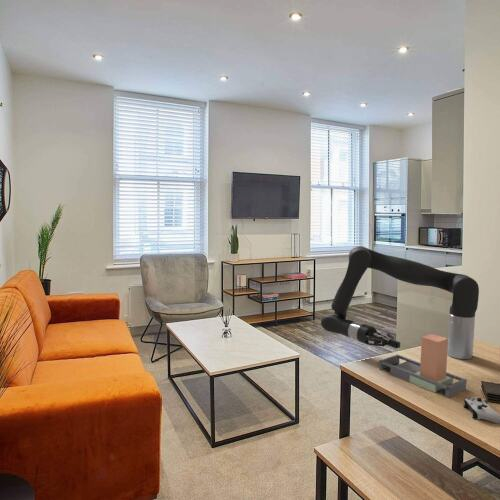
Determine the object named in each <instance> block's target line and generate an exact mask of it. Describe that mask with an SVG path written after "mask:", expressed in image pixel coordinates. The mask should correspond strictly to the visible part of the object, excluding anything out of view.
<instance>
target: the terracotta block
mask: <svg viewBox="0 0 500 500" xmlns="http://www.w3.org/2000/svg"><path fill="white" fill-rule="evenodd" d="M447 350H448V337H444V336H440V335H437V334H434V333H430V334H426V335H424V336H421V345H420V362H419V363H420V376H423V377H425V378H428V379H430V380H433V381H435V382H437V381H440V380H442V379H444V378H446V372H447V363H448V354H447Z"/></svg>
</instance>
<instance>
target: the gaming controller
mask: <svg viewBox="0 0 500 500" xmlns="http://www.w3.org/2000/svg"><path fill="white" fill-rule="evenodd" d="M463 403H464V405H463V408H464V409H467V410H468V409H469V410H470V411H471V412H472V417H471V419H474V420H485V421H489V422H492V423H495V424H500V413H499V412H498V411H496V410H495V409H493V408H492V407H491V406H490V405H489V403H488V401H487V400H486V399H484V398H481V397H468V398H465V399H464V400H463Z"/></svg>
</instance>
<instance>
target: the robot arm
mask: <svg viewBox="0 0 500 500" xmlns="http://www.w3.org/2000/svg"><path fill="white" fill-rule="evenodd" d="M368 269H372V270H377V271H380V272H382V273H383V274H385V275H388V276H390V277H392V278H394V279H396V280H399V281H401V282H405V283H408V284H411V285H416V286H425V287H435V288H437V289H440V290H443V291H446V292H449V293H452V303H451V305H450V307H449V315H448V317H449V318H448V330H447V331H448V333H447V338H448V350H447V356H450V357H452V358H453V359H459V360H470V359H472V358H473V354H474V342H475V323H476V322H475V321H476V312H477V310H478V304H479V295H480V287H479V284H478V281H476V280H475V279H474V278H473V277H471V276H469V275H467V274H462V273H456V272H451V271H445V270H440V269H437V268H435V267H433V266H430V265H427V264H424V263H421V262H419V261H415V260H414V261H413V260H411V259H408V258H407V259H406V258H402V257H397V256H393V255H387V254H384V253H381V252H378V251H375V250H372V249H369V248H368V247H364V246H362V245H361V246H355V247H353V248H351V250H350V251H349V254H348V264H347V269H346V271H345V275H344V278H343V280H342V282H341V283H340V285H339V287H338V289H337V290H336V294H335V295H334V298H333V299H332V303H331V305H330V307H331V309H332V310H333V312H334V314H326V315H323V317H322V318H321V319H320V326H321V327H322V328H323V329H324V330H325V331H327V332H330V333H333V334H340V335H342V336H345V337H347V338H349V339H352V340H354V341H357V342H359V343H362V344H365V345H368V346H374V347H375V346H376V347H382V348H384V347H385V346H386V347H393V348H395V349H399V348H401V342H400V341H398V340H395V337H394V336H393V335H392V334H391V332H387V333H386V334H384V333H383V332H381V331H377V329H376V327H375V326H372V325H369V324H366V323H363V322H360V321H359V322H358V321H354V320H351V319H348V318H347V311H348V309H349V307H350V305H351V302H352V299H353V297H354V294H355V291H356V289H357V286H358V284H359V283H360V281H361V279H362V277H363V275H364V274H365V273H366V272H367V270H368ZM346 318H347V319H346Z"/></svg>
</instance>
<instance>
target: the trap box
mask: <svg viewBox="0 0 500 500" xmlns="http://www.w3.org/2000/svg"><path fill="white" fill-rule="evenodd" d="M400 360H402V361H404V362H401V363H400ZM378 362H379V363H378V370H380V371H382V370H383V371H386V372H388V373H390V375H392V376H394V377H396V378H400V379H402V380H404V381H407V382H409V383H410V384H411V383H412V384H413V385H416V386H419V387H421V388H423V389H426V390H428V391H430V392H433V393H439V394H441V395H444V397H445V398H447V399H449V398H451V397H453V396H455V395H457V394H459V393H461V392H463V391H464V390H467V380H468V379H466V378H464V377H461V376H458V375H455V374H452V373H449V372H447V371H446V378H444V379H442V380H440V381H437V382H435V381H433V380H430V379H428V378H425V377H423V376H420V362H419V361H416V360H414V359H411V358H408V357H405V356H402V355H400V354H395V355H392V356H388V357H386V358H384V359H380V360H379V361H378ZM454 380H457V381H456V382H454Z"/></svg>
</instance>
